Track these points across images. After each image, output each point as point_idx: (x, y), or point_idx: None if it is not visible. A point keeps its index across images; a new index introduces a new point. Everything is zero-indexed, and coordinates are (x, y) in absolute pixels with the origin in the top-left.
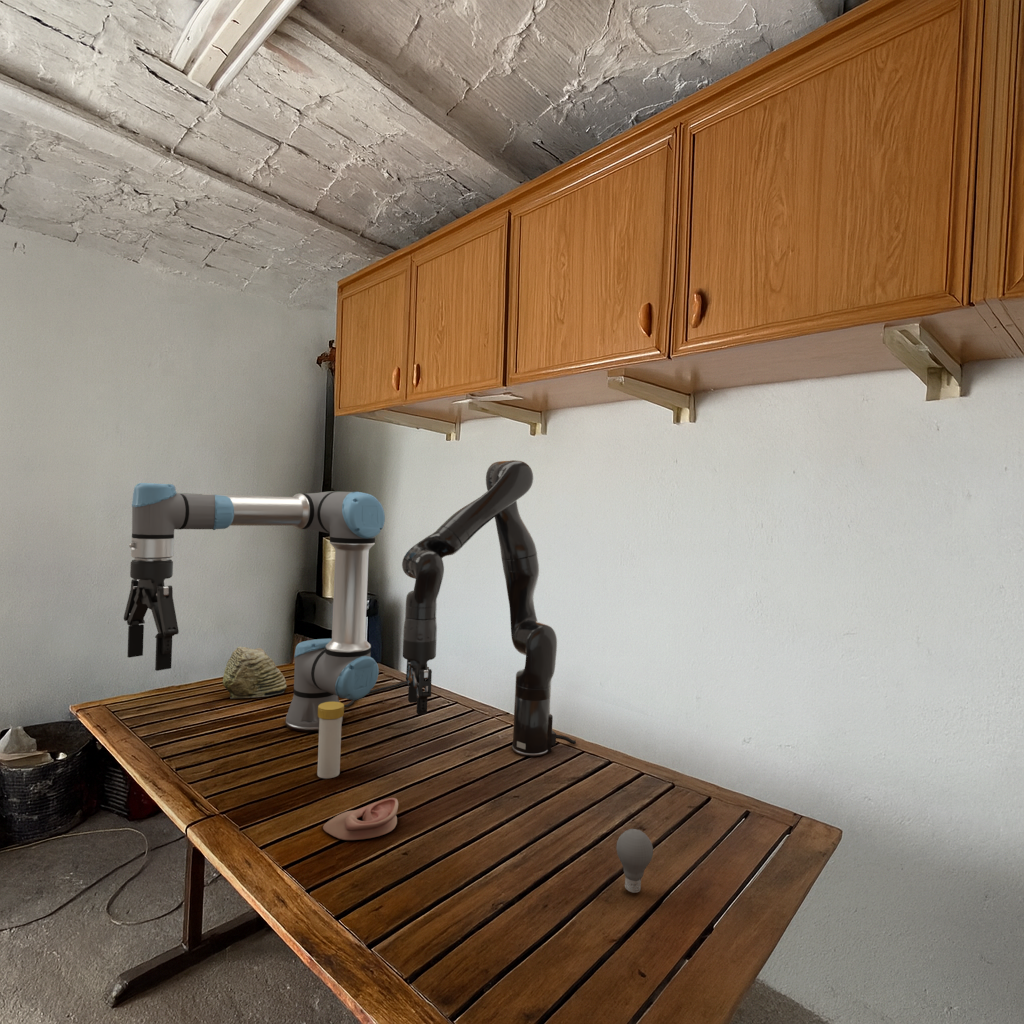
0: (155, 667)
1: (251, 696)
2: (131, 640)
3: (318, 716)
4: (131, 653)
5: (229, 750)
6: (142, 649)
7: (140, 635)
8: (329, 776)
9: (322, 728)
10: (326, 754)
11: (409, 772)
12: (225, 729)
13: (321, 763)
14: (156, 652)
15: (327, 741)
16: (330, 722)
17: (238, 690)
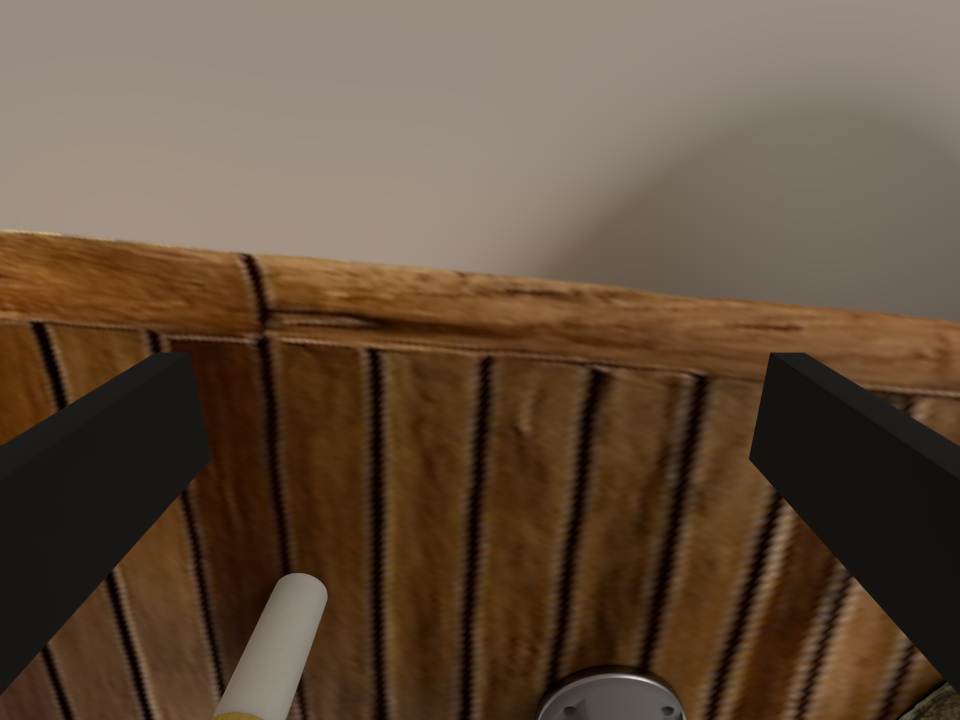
0: (171, 361)
1: (914, 713)
2: (873, 449)
3: (247, 715)
4: (786, 387)
5: (609, 513)
6: (777, 486)
7: (884, 570)
8: (275, 586)
9: (242, 685)
10: (258, 625)
11: (194, 695)
12: (755, 569)
13: (279, 600)
14: (57, 427)
15: (243, 657)
16: (214, 714)
17: (953, 709)
